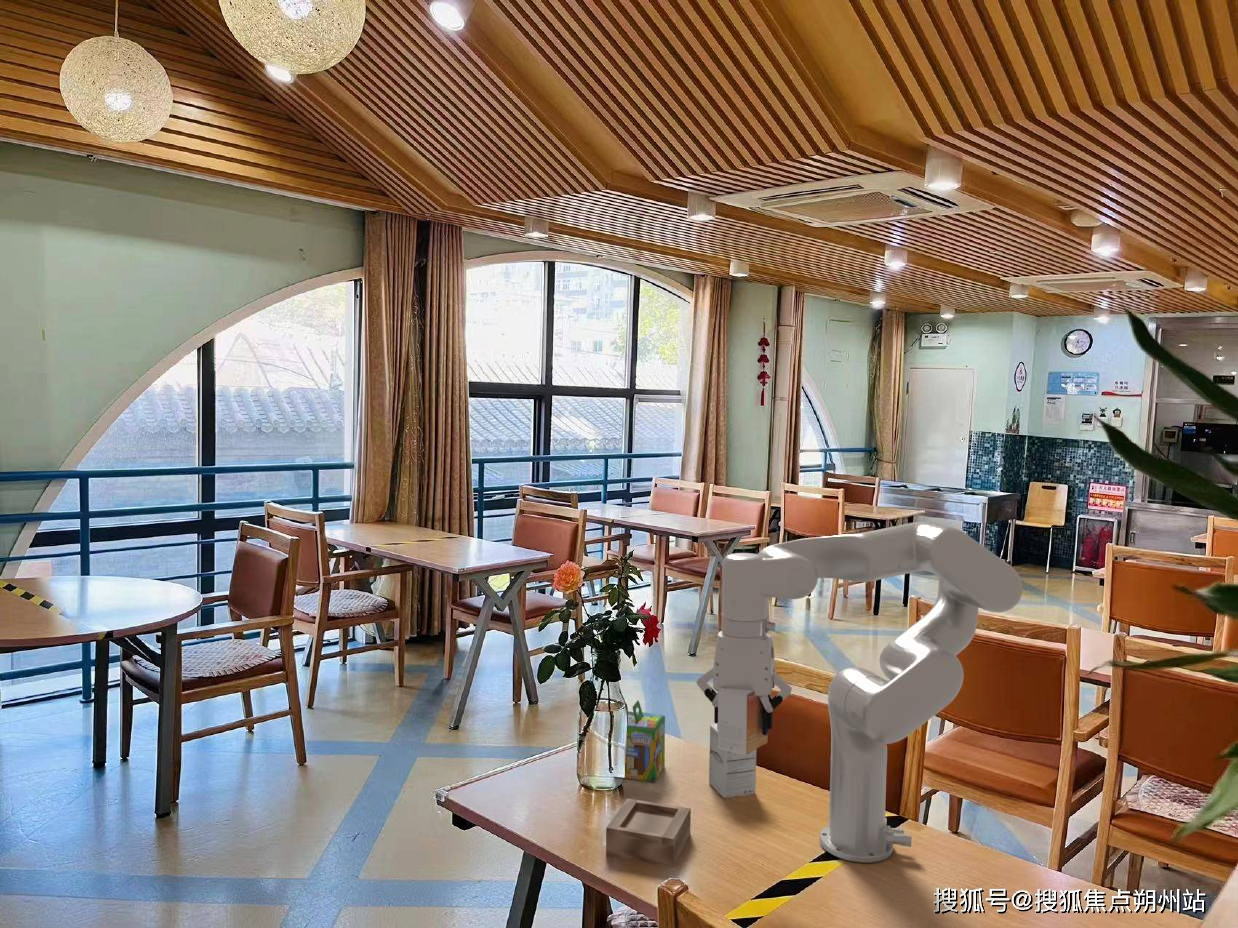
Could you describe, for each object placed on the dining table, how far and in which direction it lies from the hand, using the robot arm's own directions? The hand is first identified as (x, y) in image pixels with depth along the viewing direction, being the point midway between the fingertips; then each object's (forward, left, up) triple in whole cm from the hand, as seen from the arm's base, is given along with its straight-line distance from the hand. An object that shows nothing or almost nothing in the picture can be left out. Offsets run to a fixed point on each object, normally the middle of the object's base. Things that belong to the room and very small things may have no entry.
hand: (743, 729), depth 152 cm
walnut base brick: (+16, 0, -23) cm, 28 cm away
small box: (0, 0, -3) cm, 3 cm away
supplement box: (+6, -27, -23) cm, 36 cm away
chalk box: (+26, -29, -23) cm, 45 cm away
